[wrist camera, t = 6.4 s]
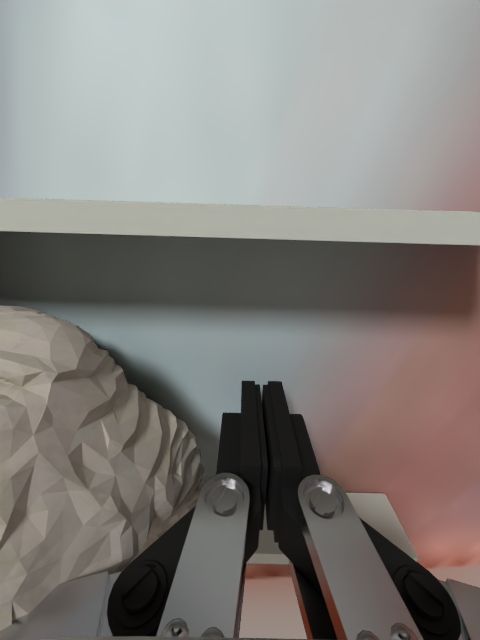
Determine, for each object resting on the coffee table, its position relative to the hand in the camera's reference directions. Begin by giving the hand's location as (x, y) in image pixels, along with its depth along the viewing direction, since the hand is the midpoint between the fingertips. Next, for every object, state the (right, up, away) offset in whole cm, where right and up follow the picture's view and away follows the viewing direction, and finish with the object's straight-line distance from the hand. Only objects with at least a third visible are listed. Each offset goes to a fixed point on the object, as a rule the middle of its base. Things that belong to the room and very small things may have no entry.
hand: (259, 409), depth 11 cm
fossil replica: (-7, +1, +2) cm, 8 cm away
